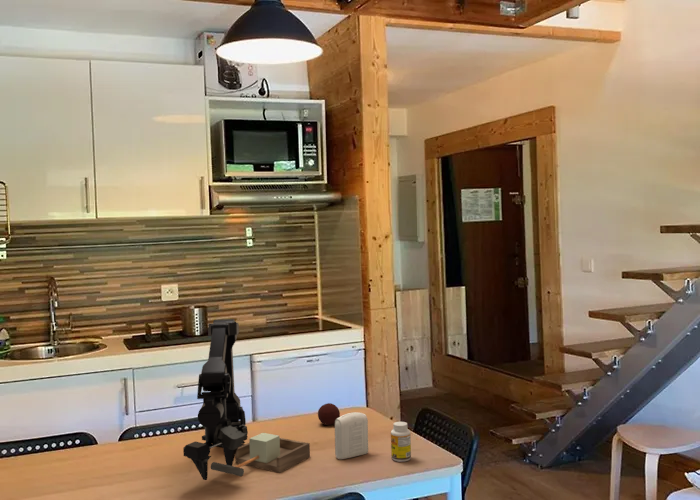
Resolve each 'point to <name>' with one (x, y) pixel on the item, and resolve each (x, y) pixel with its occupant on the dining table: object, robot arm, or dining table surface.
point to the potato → (328, 414)
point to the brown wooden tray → (288, 457)
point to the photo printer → (351, 435)
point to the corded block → (254, 453)
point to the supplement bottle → (400, 442)
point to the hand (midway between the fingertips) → (217, 474)
